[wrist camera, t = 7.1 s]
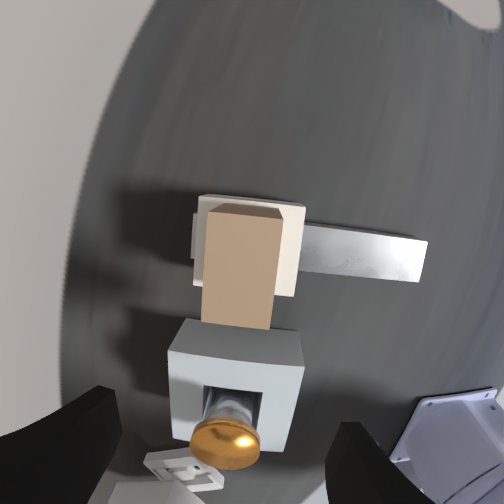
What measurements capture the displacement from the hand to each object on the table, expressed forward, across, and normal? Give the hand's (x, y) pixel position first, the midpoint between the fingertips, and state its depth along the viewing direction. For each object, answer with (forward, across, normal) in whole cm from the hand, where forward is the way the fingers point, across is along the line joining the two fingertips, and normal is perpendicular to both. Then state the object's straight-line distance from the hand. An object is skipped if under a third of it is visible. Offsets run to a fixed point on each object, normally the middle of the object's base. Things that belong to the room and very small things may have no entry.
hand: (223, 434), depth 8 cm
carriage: (+10, 0, -4) cm, 11 cm away
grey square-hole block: (+10, 0, +5) cm, 11 cm away
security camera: (+11, +4, +18) cm, 21 cm away
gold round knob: (+8, 0, +5) cm, 9 cm away
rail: (+10, -3, -4) cm, 12 cm away
